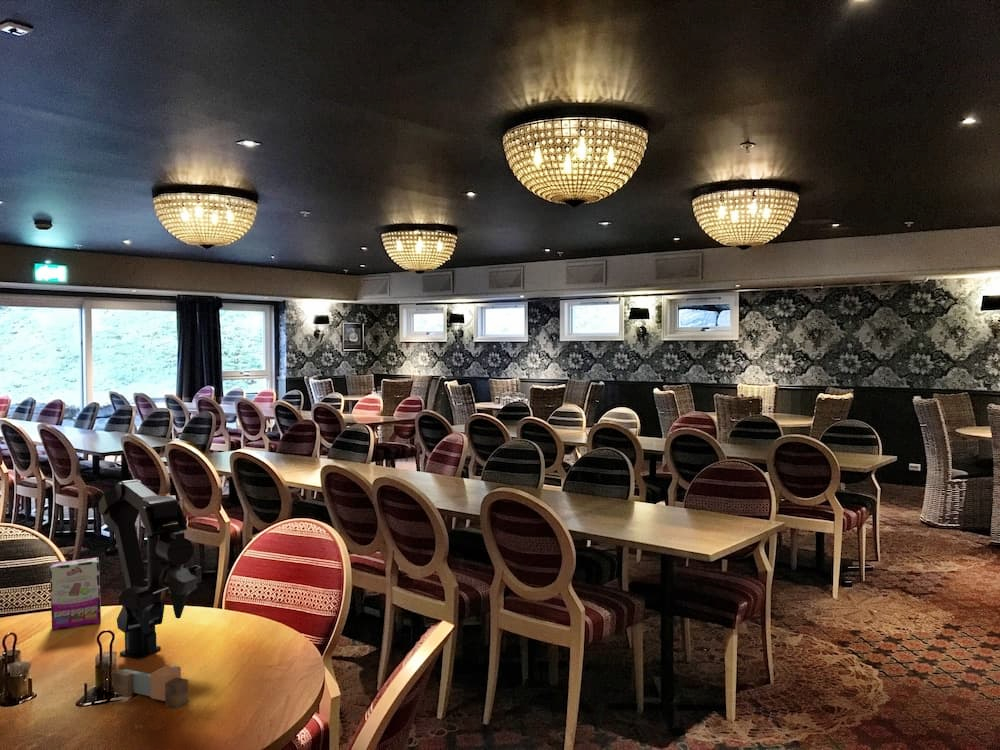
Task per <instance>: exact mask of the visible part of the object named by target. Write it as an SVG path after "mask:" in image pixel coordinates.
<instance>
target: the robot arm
mask: <svg viewBox="0 0 1000 750" xmlns="http://www.w3.org/2000/svg"><path fill="white" fill-rule="evenodd" d="M98 512H99V515H100V516H102V520H103V524H104V525H106V526H107V528H109V529H110V530H111V531H112V532H113V533H114V538H115V542H116V547H117V552H118V555H119V556H118V557H119V561H120V565H121V570H122V573H123V575H122V576H123V578H124V583H125V587H126V589H124V590H123V589H122V590H121V592H120V593H118V605H121V609H120V611H119V614H118V615H117V618H116V623H117V629H118V630H119V631H121V632H123V633H124V650H122V651H120V652H119V655H120V656H122V657H123V656H124V657H130V658H133V659H142V658H145V657H147V656H149V655H151V654H152V653H155V652H157V651H160V650H161V649H162V647H161V646H160V645H157V632H156V625H157V626H158V625H162V624H163V620H164V619H163V618H164V612H165V603H164V602H163V601H164V600H163V598H161V594H160V593H161V592H164V591H167V590H169V591H170V597H171V603H172V608H173V613H174V617H175V619H181V618H182V615H183V613H184V609H185V605H186V602H187V601H188V597H189V595H190V593H191V592H193V591H195V589H197V588H198V585H199V584H202V579H203V577H202V575H203V574H202V567H201V566H200V565H199V564H196V565H193V566H190V567H185V568H184V567H182V566H183V565H186V564H187V563H188V562H189V561H190V560H191V559H192V558H193V555H194V554H195V553H194V551H195V549H194V548H195V547H194V545H193V543H192V541H191V540H189V539H188V538H186V537H185V532H183V531H187V530H188V527H187V523H188V521H187V518H186V516H185V513H184V511H183V508H182V507H181V504H180V503H179V501H177V499H176V498H175V497H173V496H172V497H171V496H168V495H157V494H156V493H155V492H154V491H153V490H151V489H149V488H148V487H147V486H145V485H144V484H143V482H142V481H141V480H140V479H136V478H135V479H129V480H121V481H119V482H117V483H116V484H115V486H114V487H112V488H111V489H109V490H108V491H107V492H104V493H103V494H102V497H101V498H100V499H99V502H98ZM139 515H140V521H141V522H142V525H143V526H144V529H145V530H144V532H145V533H146V546H147V547H146V551H147V552H146V553H147V554H146V555H147V557H146V558H147V559H146V560H144V559H143V554H142V551H141V550H142V549H141V545H140V542H139V541H140V540H139V536H138V532H137V528H136V522H137V520H138V517H139ZM146 568H147V571H146Z"/></svg>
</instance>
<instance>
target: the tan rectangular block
mask: <svg viewBox="0 0 1000 750" xmlns="http://www.w3.org/2000/svg"><path fill="white" fill-rule="evenodd" d="M181 672H182V671H181V668H180V669H179V668H173V666H169V665H164V666H163V667H160V668H159V669H157V670H155V671H152V672H151V673H149V674H150V679H151V696H150V698H151V699H152V700H158V701H163V702H165V683H167V682H169V681H170V680H172V679H174V678H176V677H177V678H182V673H181Z"/></svg>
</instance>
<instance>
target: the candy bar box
mask: <svg viewBox="0 0 1000 750" xmlns="http://www.w3.org/2000/svg"><path fill="white" fill-rule="evenodd" d="M100 576H101V575H100V559H99V556H97V557H91V558H82V559H73V560H67V561H66V560H65V561H56V562H51V563H50V566H49V578H50V579H49V581H50V603H51V604H50V608H51V609H50V610H51V613H50V614H51V630H52V631H59V630H60V631H61V630H65V629H71V628H79V627H85V626H90V625H97V624H100V623H101V622H102V621H101V620H102V617H101V616H102V615H101V613H102V606H101V605H102V604H101V603H102V602H101V583H100Z"/></svg>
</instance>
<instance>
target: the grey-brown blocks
mask: <svg viewBox="0 0 1000 750" xmlns="http://www.w3.org/2000/svg"><path fill="white" fill-rule="evenodd" d="M111 674H112V675H111V676H112V682H113V686H114V690H115V692H116V693H119V694H120V695H122V696H121V697H124V696H126V697H125V698H128V697H131V696H133V692H132V673H128V672H123V671H122V670H118V669H113V671H112V672H111ZM120 695H119V696H120ZM188 702H189V679H187V678H182V677H181V678H177V677H176V678H174V679H172V680H170V681H169V682H167V683H165V701H164V703H165V706H166V707H171V708H176V709H178V708H180V707H181V706H183V705H186V704H187V703H188Z"/></svg>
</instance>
